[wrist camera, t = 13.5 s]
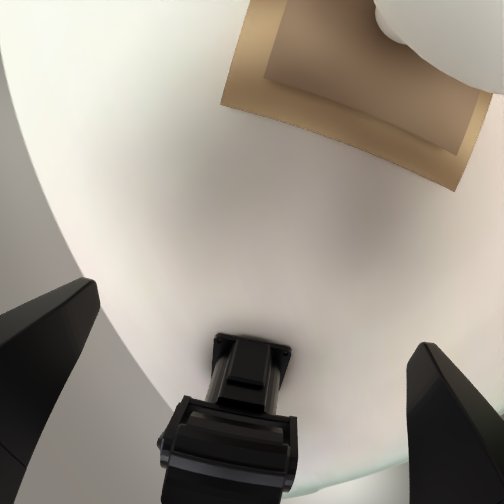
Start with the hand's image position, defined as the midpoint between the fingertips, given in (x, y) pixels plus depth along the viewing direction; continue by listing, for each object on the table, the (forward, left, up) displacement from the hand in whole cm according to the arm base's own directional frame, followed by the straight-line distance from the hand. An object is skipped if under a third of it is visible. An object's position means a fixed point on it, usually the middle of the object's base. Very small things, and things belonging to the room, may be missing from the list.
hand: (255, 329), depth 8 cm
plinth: (+10, -4, -13) cm, 17 cm away
